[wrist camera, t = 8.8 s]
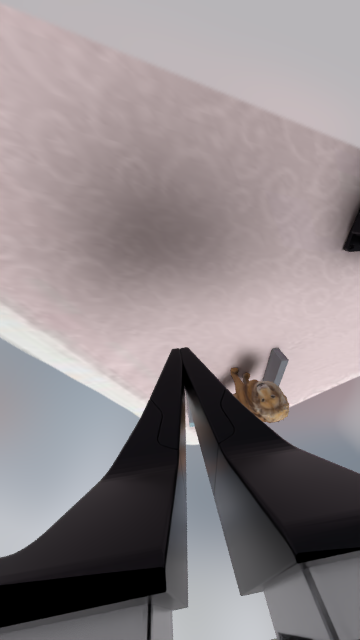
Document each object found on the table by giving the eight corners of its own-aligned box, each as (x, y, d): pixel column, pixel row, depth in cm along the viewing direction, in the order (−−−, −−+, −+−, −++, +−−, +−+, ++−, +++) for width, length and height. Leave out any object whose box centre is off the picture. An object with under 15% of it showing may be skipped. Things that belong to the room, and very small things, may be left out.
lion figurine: (245, 347, 26) (280, 402, 19) (267, 361, 28) (307, 417, 20) (184, 401, 32) (192, 461, 24) (207, 410, 33) (220, 468, 26)
